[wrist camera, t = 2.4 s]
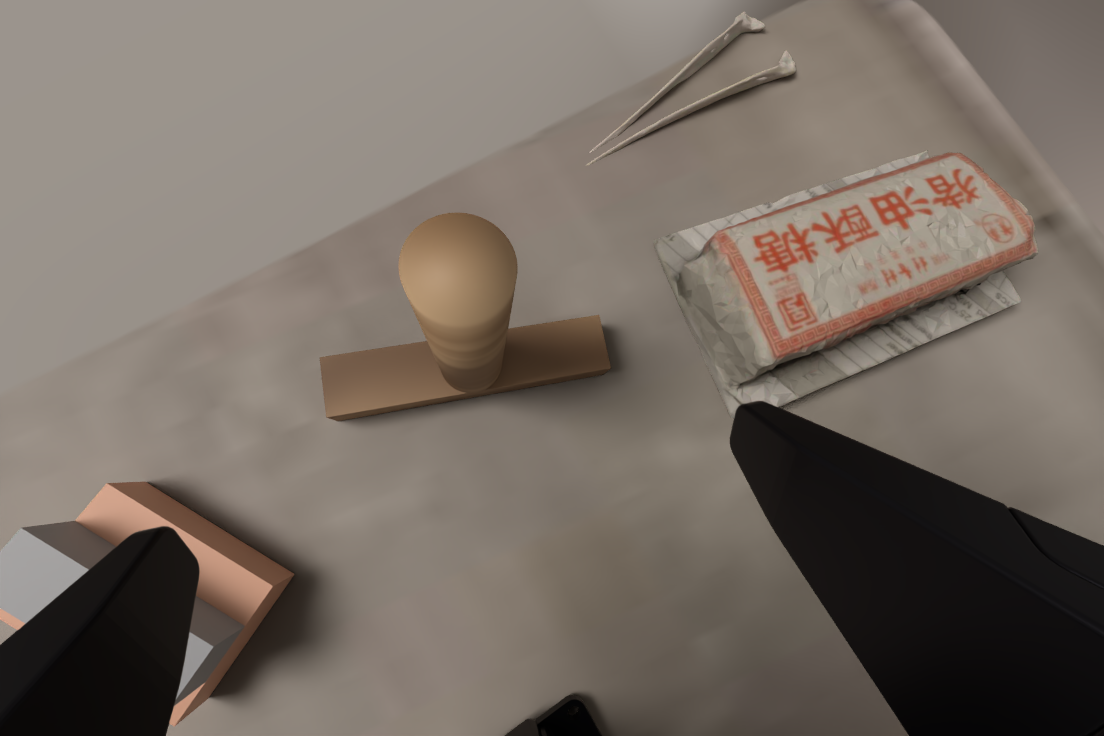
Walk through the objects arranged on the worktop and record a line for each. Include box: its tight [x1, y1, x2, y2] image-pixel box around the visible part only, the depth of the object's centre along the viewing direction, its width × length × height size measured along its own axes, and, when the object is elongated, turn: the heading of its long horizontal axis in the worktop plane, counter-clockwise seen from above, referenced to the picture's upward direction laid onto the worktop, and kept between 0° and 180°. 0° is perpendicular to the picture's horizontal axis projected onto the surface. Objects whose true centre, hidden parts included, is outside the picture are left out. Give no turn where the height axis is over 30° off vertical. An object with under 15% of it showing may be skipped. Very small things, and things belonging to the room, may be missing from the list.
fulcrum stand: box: [0, 482, 294, 726], centre depth 16 cm, size 7×5×4 cm
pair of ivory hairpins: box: [586, 12, 796, 166], centre depth 26 cm, size 18×5×2 cm, turn 128°
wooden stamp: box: [320, 213, 611, 421], centre depth 16 cm, size 3×12×12 cm, turn 102°
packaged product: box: [654, 150, 1038, 418], centre depth 24 cm, size 18×5×10 cm
